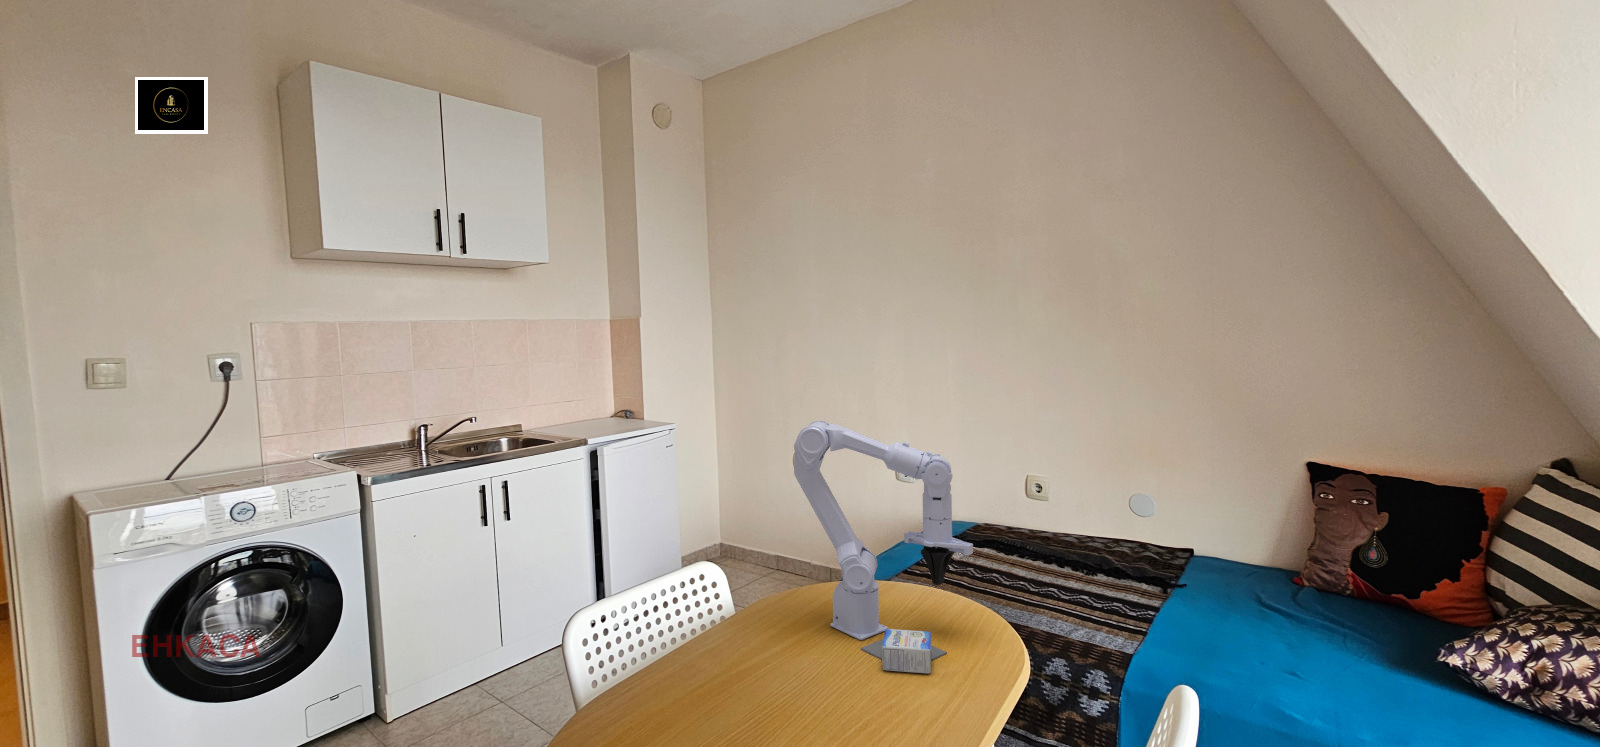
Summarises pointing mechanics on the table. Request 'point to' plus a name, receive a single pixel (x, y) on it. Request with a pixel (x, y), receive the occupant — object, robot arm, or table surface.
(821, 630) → the table surface
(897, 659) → the medicine box
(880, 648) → the gray mat
